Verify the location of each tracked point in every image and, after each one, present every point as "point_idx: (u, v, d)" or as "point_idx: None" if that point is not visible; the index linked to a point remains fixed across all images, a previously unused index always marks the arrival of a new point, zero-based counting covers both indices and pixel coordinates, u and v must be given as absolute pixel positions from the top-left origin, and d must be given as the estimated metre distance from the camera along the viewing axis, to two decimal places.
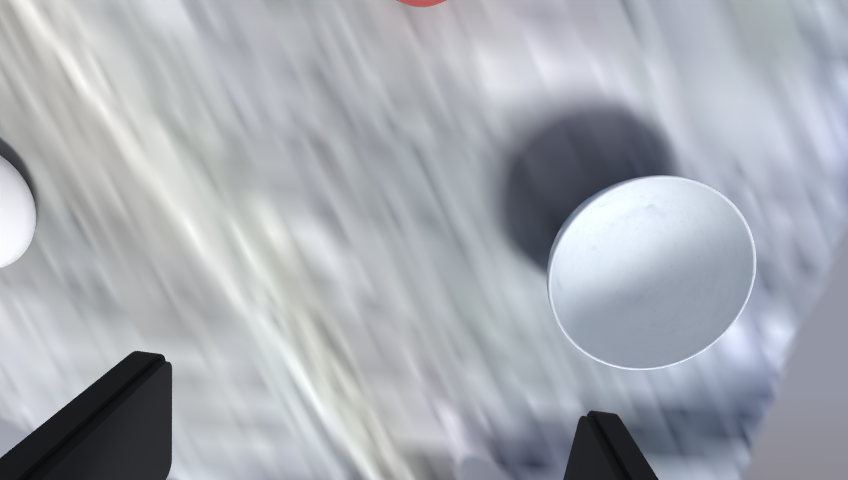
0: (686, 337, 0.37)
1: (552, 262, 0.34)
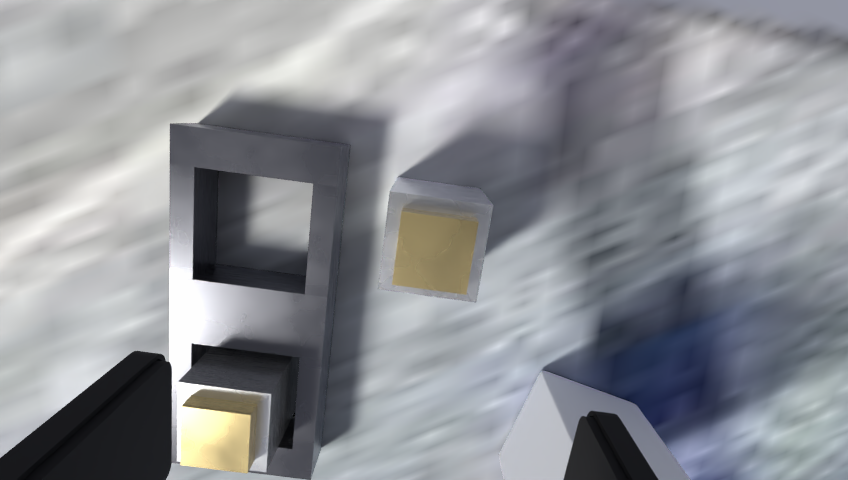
0: None
1: None
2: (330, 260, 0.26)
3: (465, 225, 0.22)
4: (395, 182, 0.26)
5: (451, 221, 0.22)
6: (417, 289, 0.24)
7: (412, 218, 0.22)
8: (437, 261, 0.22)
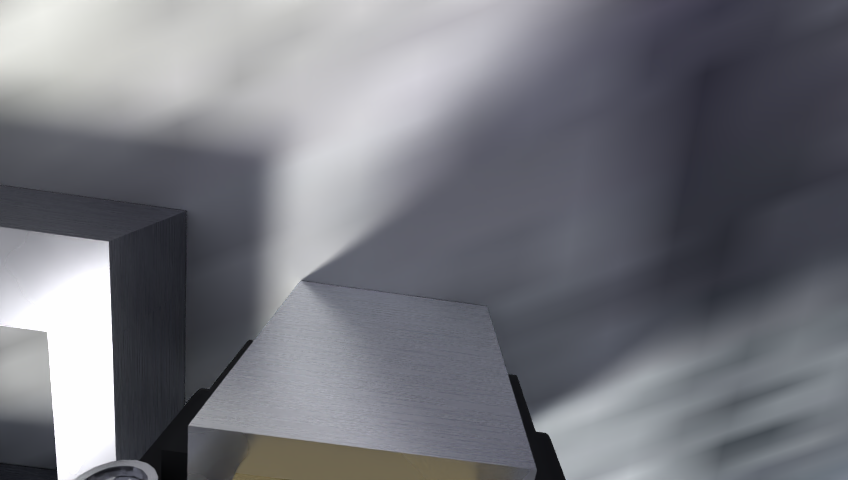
0: None
1: None
2: None
3: None
4: (267, 325, 0.10)
5: None
6: None
7: None
8: None
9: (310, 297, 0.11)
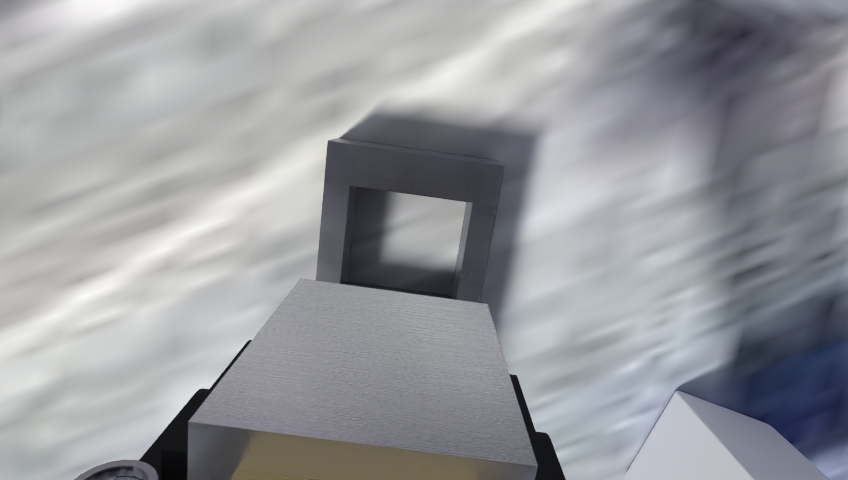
0: None
1: None
2: (482, 281, 0.26)
3: None
4: (267, 322, 0.10)
5: None
6: None
7: None
8: None
9: (310, 295, 0.11)
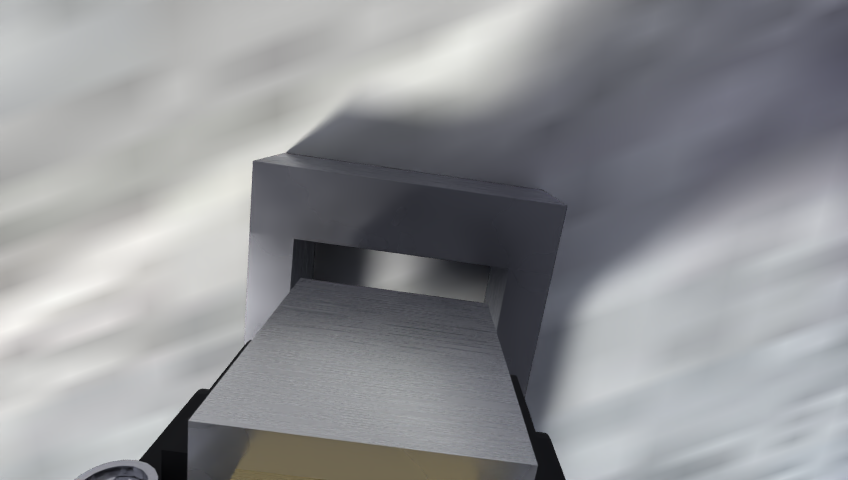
0: None
1: None
2: None
3: None
4: (267, 322, 0.10)
5: None
6: None
7: None
8: None
9: (310, 294, 0.11)
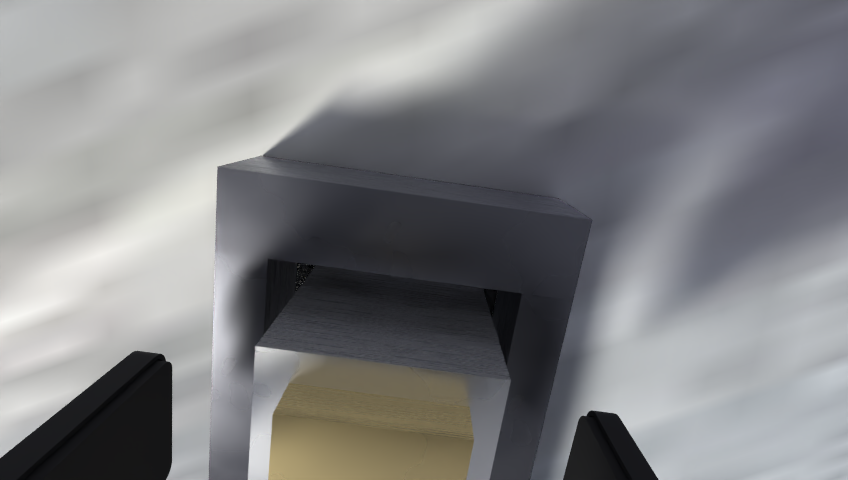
0: None
1: None
2: None
3: (439, 447, 0.08)
4: (301, 286, 0.12)
5: (404, 437, 0.08)
6: None
7: (302, 430, 0.08)
8: None
9: (333, 268, 0.14)
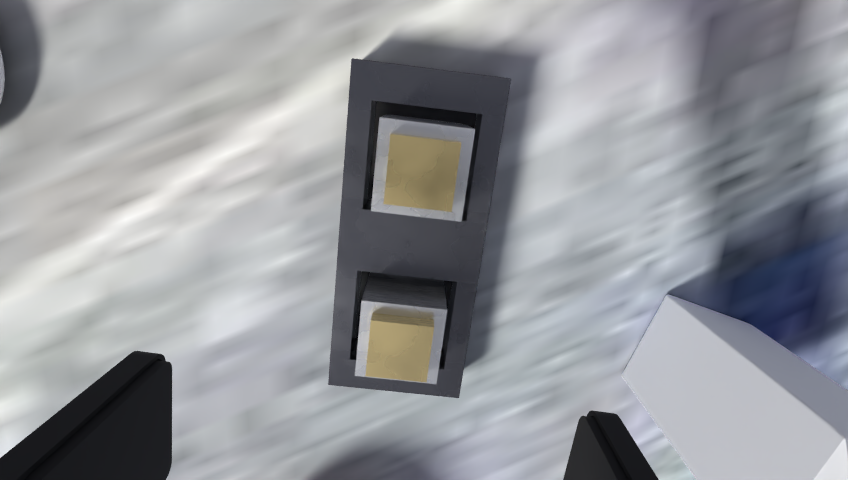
0: None
1: None
2: (492, 188, 0.28)
3: (448, 146, 0.24)
4: (384, 115, 0.27)
5: (436, 142, 0.24)
6: (407, 210, 0.26)
7: (400, 140, 0.24)
8: (424, 180, 0.24)
9: (394, 115, 0.29)
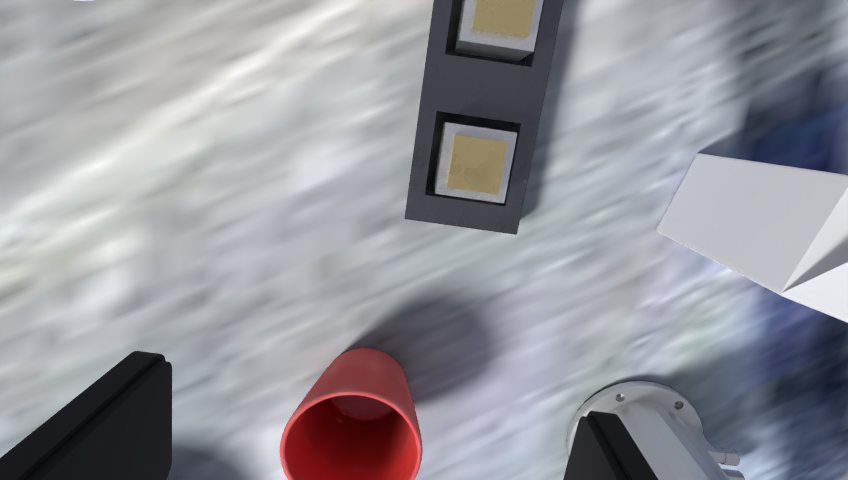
0: None
1: None
2: (555, 37, 0.34)
3: None
4: None
5: None
6: (489, 40, 0.31)
7: None
8: (507, 7, 0.30)
9: None
